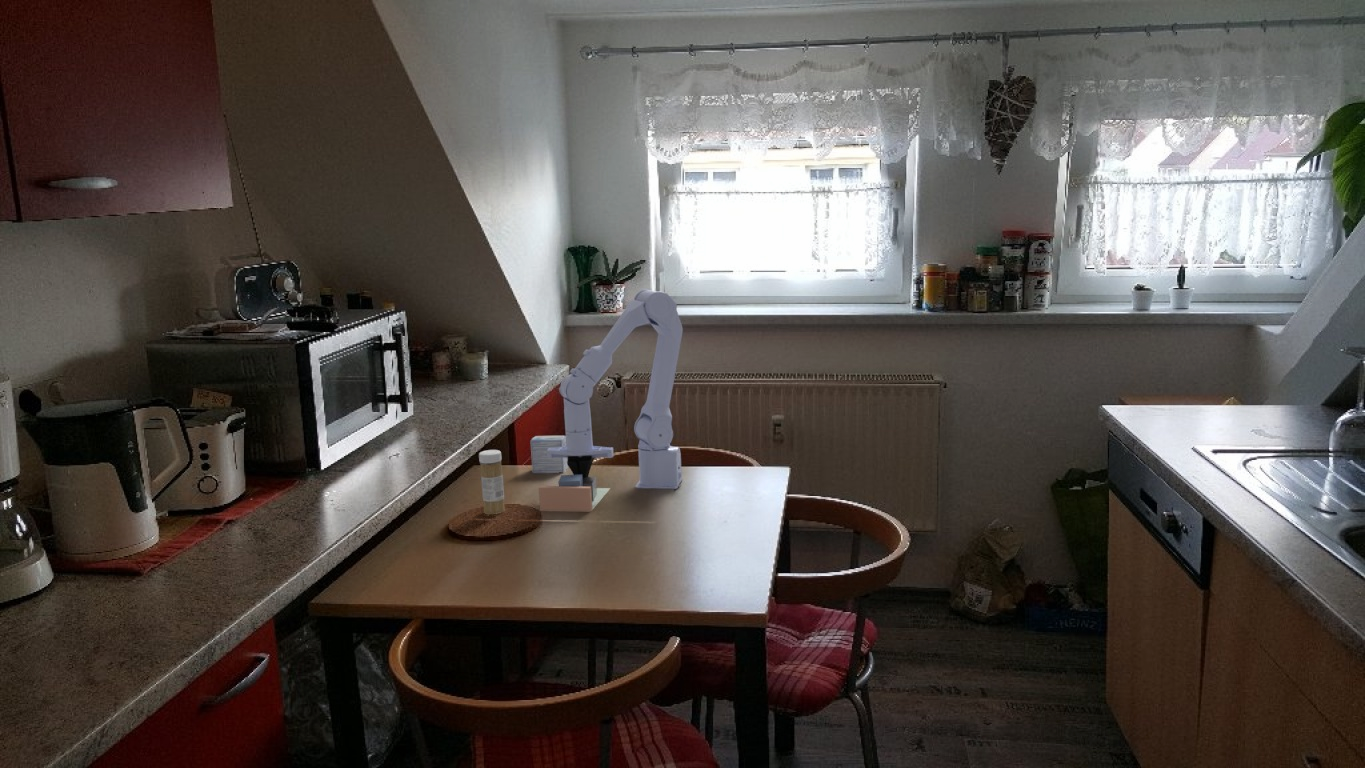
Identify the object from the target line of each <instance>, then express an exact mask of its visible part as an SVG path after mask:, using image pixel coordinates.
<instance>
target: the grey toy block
mask: <svg viewBox="0 0 1365 768" xmlns="http://www.w3.org/2000/svg"><path fill="white" fill-rule="evenodd" d="M583 486H586V487H591V492H592V501H594V499H595V497H596V495H597V488H598V487H597V477H596V476H588V477H584V478H583Z"/></svg>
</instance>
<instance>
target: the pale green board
mask: <svg viewBox="0 0 1365 768" xmlns="http://www.w3.org/2000/svg"><path fill="white" fill-rule="evenodd" d="M596 488H597V495H596V497H595V499H594V501H592V492H591V487H586V486H559V485H557V486H556V485H540V486H538V496H539V497H538V498H539V499H538V501H539V511H540V512H582V513H584V512H588V513H589V512H592V511H593V510H594V509H595V508H596V507H597V505H598V504H599V503H600V501H601V500H602V499H603V498H604V497H605V496H606V494H607V493H608V492H609V491H610V490H611V488H610V487H596Z"/></svg>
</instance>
